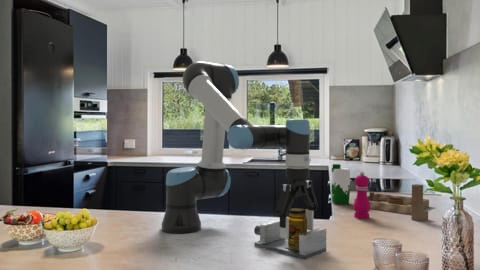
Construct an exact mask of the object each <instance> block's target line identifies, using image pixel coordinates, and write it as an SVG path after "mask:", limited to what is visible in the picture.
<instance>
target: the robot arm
mask: <svg viewBox="0 0 480 270" xmlns="http://www.w3.org/2000/svg"><path fill="white" fill-rule="evenodd" d="M182 84H183V86H184V87H183V88H184V89H185V90H186V92H187V93H188V94H189V95H190V96H191V98H195V99H197V100H198V101H199V102H200V103H201V105H203V107H204V109H205V110H204V121H203V137H202V149H201V159H200V161H199V162H198V163H197V165H196V167H194V166H185V167H178V168H173V169H170V170H169V171H168V172H167V173H166V177H165V193H166V195H165V197H166V198H165V199H166V200H165V201H166V202H165V208H166V209H165V213H164V215H163V219H162V222H161V230H162V231H163V232H165V233H170V234H189V233H194V232H197V231H200V230H201V229H202V222H201V221H202V220H201V219H200V215H199V212H198V209H197V200H204V199H211V198H212V199H214V198H215V199H216V198H218V197H222V196H224V195H225V194H227V193H228V191H229V190H230V186H231V180H232V179H231V175H230V171H229V170H228V169H226V168H227V166H226V164H225V163H224V160H223V159H224V149H225V148H224V146H225V135H226V133H227V135H226V136H227V137H226V139H227V141H228V145H229V146H230V147H231V148H232V149H236V150H250V149H251V150H252V149H254V150H255V149H271V148H273V149H275V148H278V149H279V148H280V149H285V166H286V167H285V179H286V180H287V181H288V183H287V184H286V183H285V184H284V183H283V184H281V190H280V193H279V198H278V200H277V205H276V208H275V211H274V215H275V216H277V217H279V219H280V237H282V238H286V239H288V238H289V217H290V216H289V215H288V214H289V210H290V209H292V206H293V203H294V201H295V200H296V199H297V198H301V200H302V202H303V204H304V205H305V207H306V209H305V210H306V218H307V231H311V230H314V220H315V219H314V218H315V217H314V216H315V212H314V211H317V209H318V207H319V204H318V199H317V197H316V194H315V190H314V183H313V180H310V171H311V170H310V168H309V167H310V138H311V130H310V129H311V128H310V121H309V120H308V119H306V118H305V119H304V118H291V119H290V118H288V119H287V120H286V121H285V125H279V124H278V125H277V124H265V125H264V124H263V125H262V124H261V125H260V124H252V123H251V122H250V121H249V120H248V119H246V118H245V116H244V115H243V114H242V113H241V112H240V111H239V109H237V108H236V107H235V106H234V105H233V104H232V103H231V102H230V101H231V100H232V95H233V94H235V93H236V92H237V90H238V89H239V86H240V78H239V75H238V71H237V70H236V69H235V67H233V66H232V65H229V64H224V63H219V62H218V63H216V62H215V63H214V62H207V61H194V62H192V63H191V64H189V65H188V66H187V67H186V69H184V72H183V74H182Z"/></svg>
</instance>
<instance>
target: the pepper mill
mask: <svg viewBox="0 0 480 270" xmlns="http://www.w3.org/2000/svg"><path fill="white" fill-rule="evenodd" d="M354 183H355V185H356V186H355V189H356V196H355V197H356V198H355V199H356V200H355V202H353V205H352V208H353V210H354V211H355V212H354V214H353V215H354V216H353V217H354V218H356V219H362V220H364V219H369V218H370V213H369V212H370V211H371V210H372V209H371V207H370V203H369V200H368V198H367V196H368V190H369V184H370V178H369V177H368V176H367V175H365V172H364V171H360V172H359V175H357V176H356V177H355V179H354Z"/></svg>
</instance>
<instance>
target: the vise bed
mask: <svg viewBox="0 0 480 270" xmlns="http://www.w3.org/2000/svg"><path fill="white" fill-rule="evenodd" d="M287 245H288V239H286V238H281V239H278V240H275V241H272V242H269V243H265V244H264V243H260V240H259V241H255V242H254V247H257V248H260V249H264V250H267V251H271V252H275V253H279V254H283V255H287V256H290V257H294V258H298V259H300V260H307V259H310V258H312V257H315V256H316V255H319V254H322V253H324V252H326V251H327V228H326V227H318V228H315V229H314V228H313V230H307V232H305V233H302V234H299V250H298V249H290V248H284V247H285V246H287Z"/></svg>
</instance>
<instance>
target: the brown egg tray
mask: <svg viewBox="0 0 480 270" xmlns="http://www.w3.org/2000/svg"><path fill="white" fill-rule="evenodd" d="M367 198H368V200H369V203H370V207H371V209H370V210H377V211H384V212H391V213H397V214H404V215H405V214H406V215H410V214H411V215H412V196H411V197H410V196H402V195H396V194H395V195H394V194H385V193H374V198H373V201H371V198H370V195H367ZM388 198H402V199H404V200H403V204H406V205H409V206H404V205H397V204H389V203H388ZM355 200H356V198H354V202H355ZM379 201H380V202H379ZM354 202H353V203H354ZM428 207H430V199H427V198H423V209H424V210H425V209H426V208H428Z"/></svg>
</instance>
